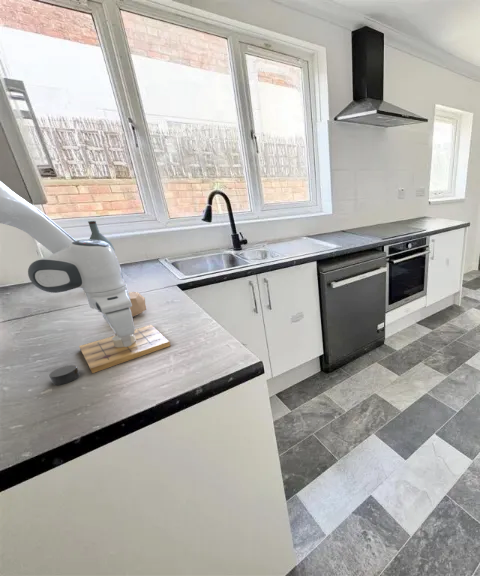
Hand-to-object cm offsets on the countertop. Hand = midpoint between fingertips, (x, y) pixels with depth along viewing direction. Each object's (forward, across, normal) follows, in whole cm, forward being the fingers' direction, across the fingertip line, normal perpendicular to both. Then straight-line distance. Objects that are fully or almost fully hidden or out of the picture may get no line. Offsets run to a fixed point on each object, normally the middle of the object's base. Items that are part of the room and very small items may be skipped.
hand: (123, 340), depth 92 cm
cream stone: (+1, 0, 0) cm, 1 cm away
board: (+3, 0, 0) cm, 3 cm away
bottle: (+3, -80, +11) cm, 81 cm away
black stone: (+3, +7, -14) cm, 16 cm away
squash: (+3, -32, +8) cm, 33 cm away
